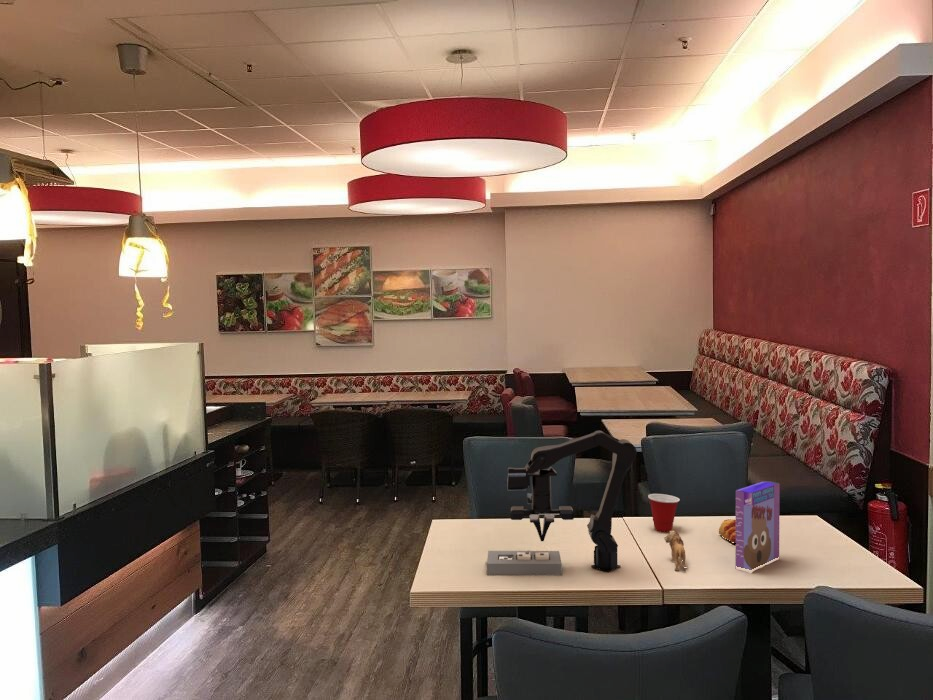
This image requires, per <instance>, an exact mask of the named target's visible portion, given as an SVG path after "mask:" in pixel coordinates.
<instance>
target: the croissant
mask: <svg viewBox="0 0 933 700" xmlns="http://www.w3.org/2000/svg"><path fill="white" fill-rule="evenodd" d="M719 534H721V535H722V536H723V537H724V538H726V539H728V540H730V541H731V542H734V543H736V519H725V520H724V521H722V522H721V523H720V526H719V528H718V535H719ZM721 535H720V536H721ZM722 536H721V537H722ZM724 538H723V539H724ZM726 539H725V540H726ZM728 540H727V541H728ZM730 541H729V542H730ZM731 542H730V543H731ZM734 543H733V544H734Z"/></svg>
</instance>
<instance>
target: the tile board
mask: <svg viewBox="0 0 933 700" xmlns="http://www.w3.org/2000/svg"><path fill="white" fill-rule="evenodd" d="M517 552H530V555H531V560H517ZM535 552H548V553H549V560H535ZM508 556H511V557H512V560H499V557H508ZM561 558H562V557H561V553H560V550H488V551H487V558H486V559H487V560H486V575H487V576H489V575H490V576H562V575H563V573H562V572H563V571H562V570H563V568H562V567H563V566H562V559H561Z"/></svg>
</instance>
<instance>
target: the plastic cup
mask: <svg viewBox="0 0 933 700" xmlns="http://www.w3.org/2000/svg"><path fill="white" fill-rule="evenodd" d="M647 497H648V500H649V503H650V505H649V506H650V511H651V514H652V515H651V516H652V521H653V522H652V523H653V527H654V531H655V532H659V533H669V532H670V531H671V530H672V531H673V527H674V521H675V516H676V512H677V511H676V510H677V507H678V503H679V502H680V500H681V499H680V498H679V497H677V496H674V495H669V494H664V493H649V494H648V496H647Z"/></svg>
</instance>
